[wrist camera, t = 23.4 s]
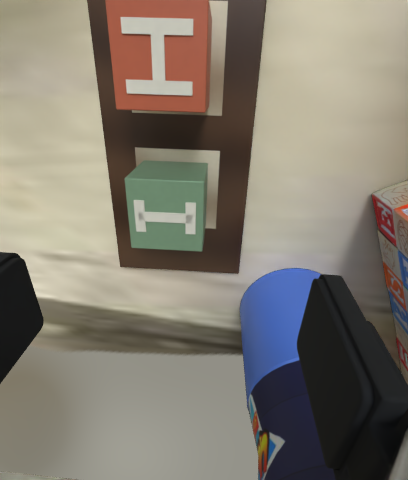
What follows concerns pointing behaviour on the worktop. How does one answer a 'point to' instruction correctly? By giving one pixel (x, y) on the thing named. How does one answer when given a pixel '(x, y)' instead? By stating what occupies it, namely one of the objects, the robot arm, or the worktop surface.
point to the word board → (190, 137)
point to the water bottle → (280, 377)
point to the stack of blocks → (395, 258)
